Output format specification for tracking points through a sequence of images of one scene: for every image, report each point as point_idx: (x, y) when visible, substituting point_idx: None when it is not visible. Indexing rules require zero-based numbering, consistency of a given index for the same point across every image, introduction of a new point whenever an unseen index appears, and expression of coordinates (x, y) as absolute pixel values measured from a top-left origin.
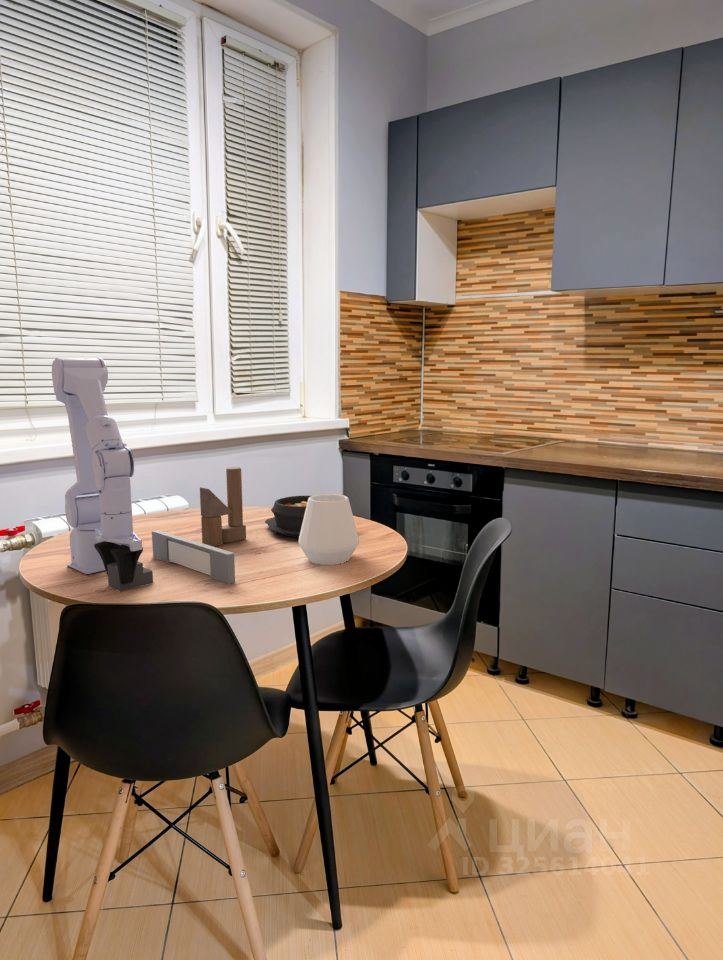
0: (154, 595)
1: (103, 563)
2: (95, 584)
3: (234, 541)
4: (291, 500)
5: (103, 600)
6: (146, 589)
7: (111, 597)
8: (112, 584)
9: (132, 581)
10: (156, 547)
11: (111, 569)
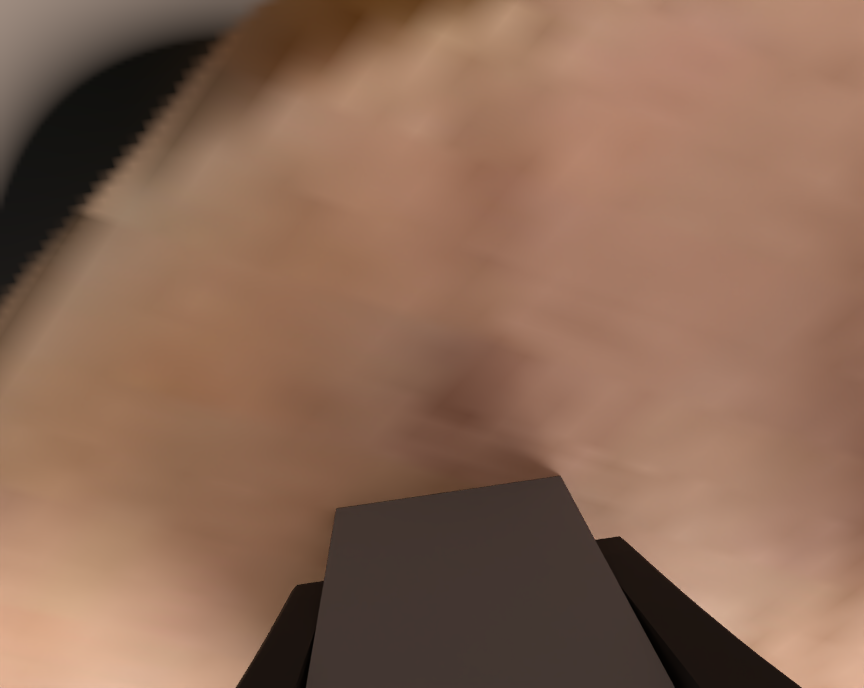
0: (47, 680)
1: (767, 665)
2: (712, 402)
3: None
4: None
5: (145, 305)
6: None
7: (201, 397)
8: (487, 512)
9: None
10: None
11: (527, 659)
